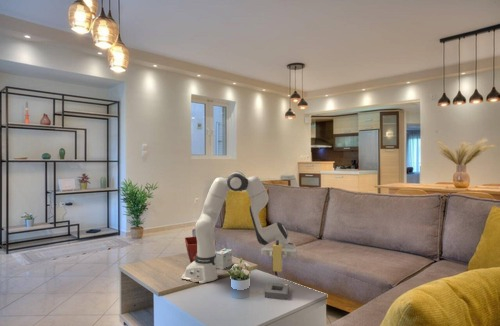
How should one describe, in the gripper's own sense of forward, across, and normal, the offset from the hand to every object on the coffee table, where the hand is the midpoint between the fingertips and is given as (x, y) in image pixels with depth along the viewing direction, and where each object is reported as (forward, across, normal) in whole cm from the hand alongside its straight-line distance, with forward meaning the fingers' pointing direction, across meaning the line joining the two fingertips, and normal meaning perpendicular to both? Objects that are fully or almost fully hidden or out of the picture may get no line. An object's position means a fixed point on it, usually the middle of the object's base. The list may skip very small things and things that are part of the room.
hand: (277, 256), depth 173 cm
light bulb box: (-33, -41, +21) cm, 57 cm away
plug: (-1, 0, +8) cm, 8 cm away
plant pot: (-35, -59, +21) cm, 72 cm away
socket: (-1, 0, +21) cm, 21 cm away
